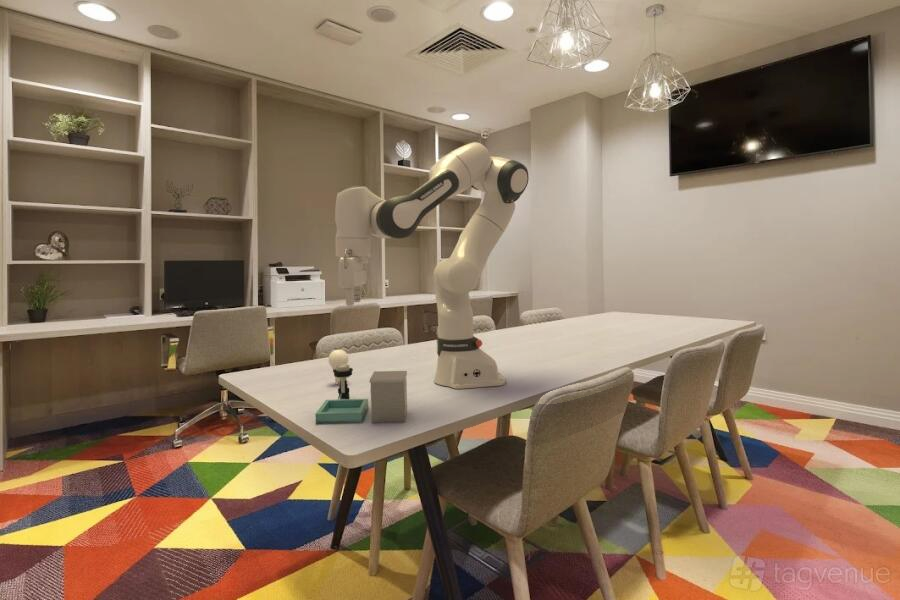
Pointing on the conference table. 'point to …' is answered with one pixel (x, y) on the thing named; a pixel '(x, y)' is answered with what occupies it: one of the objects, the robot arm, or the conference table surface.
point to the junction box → (388, 396)
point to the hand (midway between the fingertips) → (353, 303)
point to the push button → (343, 380)
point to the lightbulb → (338, 360)
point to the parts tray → (342, 411)
